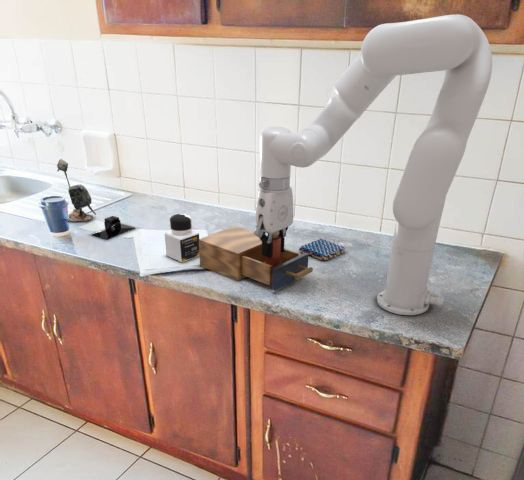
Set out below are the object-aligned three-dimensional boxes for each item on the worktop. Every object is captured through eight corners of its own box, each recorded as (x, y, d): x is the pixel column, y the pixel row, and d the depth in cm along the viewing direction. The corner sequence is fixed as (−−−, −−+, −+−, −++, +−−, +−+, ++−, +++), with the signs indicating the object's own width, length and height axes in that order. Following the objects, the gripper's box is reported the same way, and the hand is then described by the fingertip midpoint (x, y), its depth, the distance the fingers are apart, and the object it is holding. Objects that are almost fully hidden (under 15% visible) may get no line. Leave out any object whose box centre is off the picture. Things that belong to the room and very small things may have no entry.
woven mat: (346, 252, 154) (347, 246, 153) (324, 262, 148) (324, 256, 147) (320, 243, 161) (320, 237, 159) (297, 252, 154) (297, 245, 153)
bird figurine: (86, 225, 171) (75, 163, 160) (60, 220, 175) (47, 159, 164) (102, 218, 177) (92, 157, 166) (76, 213, 181) (65, 153, 170)
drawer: (320, 278, 137) (322, 258, 134) (288, 296, 128) (289, 274, 125) (268, 260, 146) (269, 240, 143) (236, 275, 138) (235, 255, 135)
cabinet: (273, 264, 147) (274, 238, 142) (238, 281, 137) (238, 253, 133) (235, 250, 155) (235, 225, 150) (199, 265, 145) (198, 239, 141)
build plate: (106, 240, 160) (104, 226, 158) (90, 235, 164) (88, 221, 161) (135, 228, 169) (133, 214, 167) (119, 224, 172) (117, 210, 170)
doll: (282, 270, 138) (284, 226, 131) (273, 275, 135) (274, 230, 129) (271, 266, 140) (272, 223, 133) (261, 271, 138) (262, 227, 131)
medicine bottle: (182, 263, 146) (178, 222, 140) (166, 256, 151) (162, 215, 144) (200, 255, 151) (198, 215, 144) (184, 249, 155) (182, 210, 148)
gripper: (264, 193, 118) (263, 267, 128) (307, 178, 128) (303, 248, 138) (240, 186, 122) (240, 259, 132) (284, 173, 132) (281, 241, 142)
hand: (272, 252), depth 135 cm, fingers closed on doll, 4 cm apart
